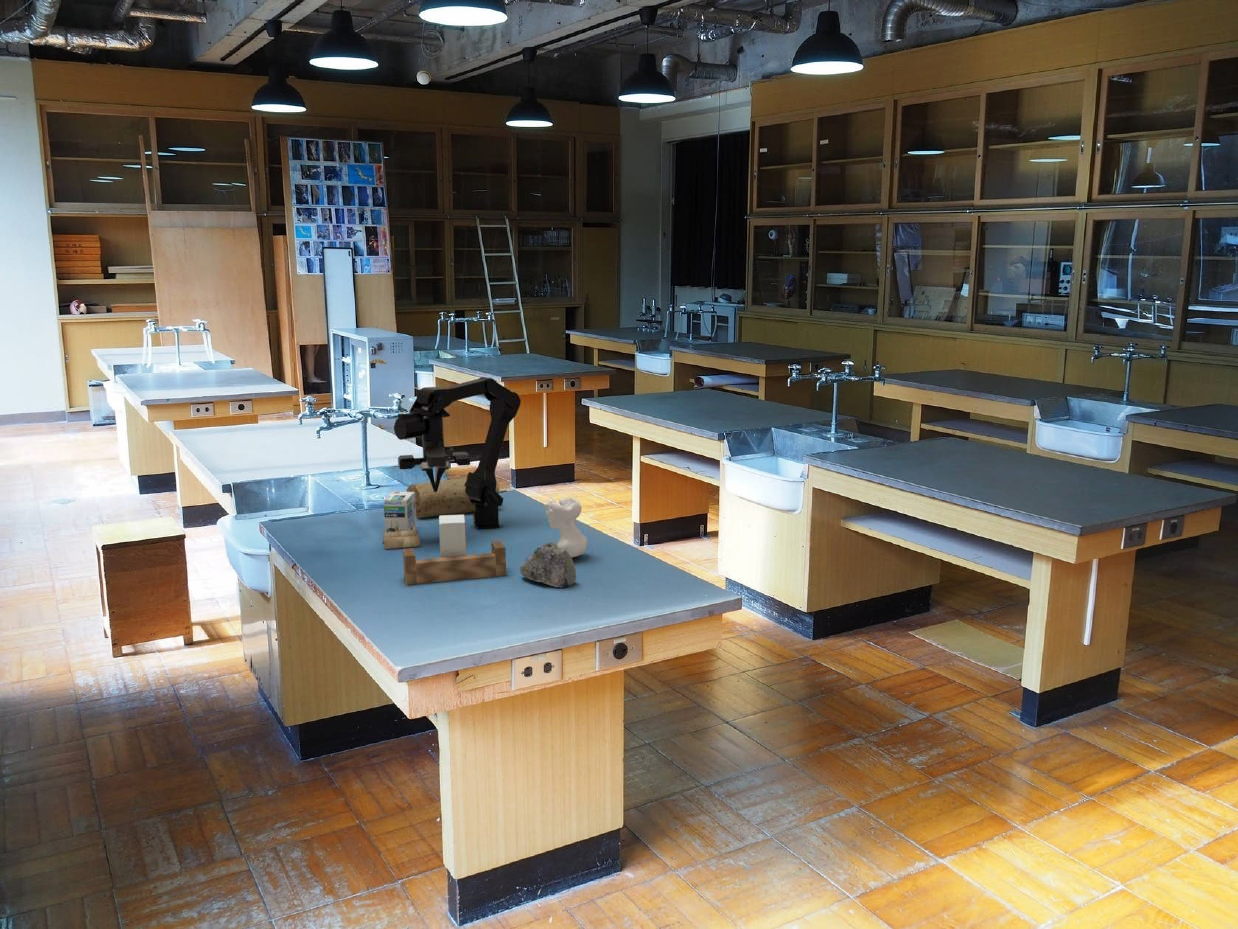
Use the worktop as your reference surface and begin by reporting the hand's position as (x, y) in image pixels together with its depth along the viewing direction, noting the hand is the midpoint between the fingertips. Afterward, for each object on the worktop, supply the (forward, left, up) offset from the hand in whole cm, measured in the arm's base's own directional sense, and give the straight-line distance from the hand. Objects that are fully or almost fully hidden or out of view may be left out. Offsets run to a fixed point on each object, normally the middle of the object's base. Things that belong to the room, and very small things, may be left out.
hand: (435, 491), depth 280 cm
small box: (0, +30, -13) cm, 33 cm away
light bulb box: (+9, -8, -13) cm, 18 cm away
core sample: (-8, -28, -14) cm, 32 cm away
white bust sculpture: (-29, +28, -13) cm, 42 cm away
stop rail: (0, +35, -13) cm, 37 cm away
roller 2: (+10, +7, -12) cm, 18 cm away
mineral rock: (-21, +46, -13) cm, 52 cm away
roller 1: (+10, +2, -11) cm, 15 cm away
